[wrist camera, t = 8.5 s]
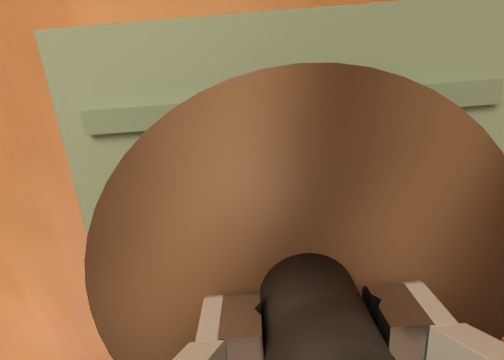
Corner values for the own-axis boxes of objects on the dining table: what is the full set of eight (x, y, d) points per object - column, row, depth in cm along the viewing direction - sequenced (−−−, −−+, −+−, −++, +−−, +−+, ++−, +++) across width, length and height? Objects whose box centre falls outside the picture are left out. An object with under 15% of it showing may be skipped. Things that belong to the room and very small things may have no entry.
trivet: (527, -7, 10) (552, -15, 10) (463, 367, 15) (476, 384, 14) (45, 32, 11) (27, 28, 10) (134, 388, 16) (128, 407, 15)
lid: (545, 44, 8) (921, -1, 4) (478, 412, 12) (618, 615, 8) (48, 84, 8) (-194, 90, 4) (138, 435, 12) (73, 647, 8)
